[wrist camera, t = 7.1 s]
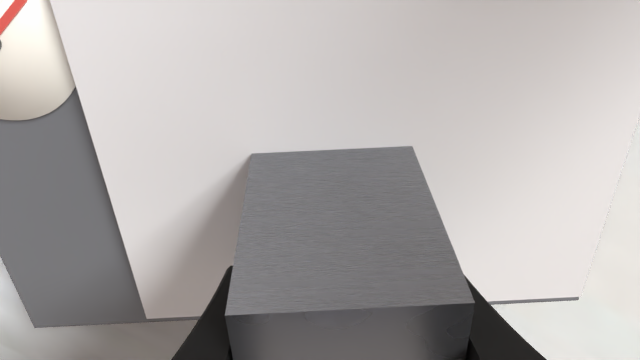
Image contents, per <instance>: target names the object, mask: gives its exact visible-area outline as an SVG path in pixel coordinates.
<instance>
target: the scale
mask: <svg viewBox="0 0 640 360" xmlns="http://www.w3.org/2000/svg"><path fill="white" fill-rule="evenodd" d="M639 118H640V0H0V256H1V258H2V260H3V262H4V264H5V266H6V269H7V271H8V273H9V275H10V277H11V279H12V281H13V283H14V285H15V287H16V290H17V292H18V294H19V296H20V298H21V300H22V302H23V304H24V306H25V309H26V311H27V313H28V315H29V317H30V319H31V321H32V323H33V325H34V327H35V328H41V327H61V326H80V325H100V324H119V323H139V322H159V321H178V320H198V319H200V317H201V315H202V314H203V312H204V311H205V309H206V307H207V306H208V304H209V302H210V300H211V299H212V297H213V295H214V293H215V292H216V290H217V288H218V286H219V284H220V282H221V280H222V278H223V276H224V274H225V272H226V270H227V268H229V267H230V266H233V263H234V257H235V251H236V245H237V238H238V232H239V226H240V220H241V214H242V208H243V202H244V196H245V190H246V184H247V178H248V172H249V165H250V159H251V154H252V153H274V152H295V151H316V150H337V149H358V148H379V147H401V146H412V147H413V149H414V152H415V154H416V157H417V159H418V162H419V164H420V167H421V169H422V172H423V174H424V177H425V179H426V182H427V184H428V187H429V189H430V192H431V194H432V197H433V199H434V202H435V204H436V207H437V209H438V211H439V214H440V216H441V219H442V221H443V224H444V226H445V229H446V231H447V234H448V236H449V239H450V241H451V244H452V246H453V249H454V251H455V254H456V256H457V259H458V261H459V264H460V266H461V269H462V271H463V274H464V275H465V276H466V277H467V279H468V280H469V281H470V282H471V283H472V285H473V286H474V287H475V288H476V289H477V290H478V292H479V293H480V294H481V295H482V296H483V297H484V298H485V300H486V301H487V302H488V303H489V304H490V305H492V304H512V303H531V302H551V301H571V300H578V299H579V297H581V296H582V293H583V290H584V287H585V284H586V281H587V278H588V274H589V271H590V268H591V265H592V262H593V259H594V256H595V253H596V250H597V247H598V244H599V241H600V238H601V234H602V231H603V228H604V225H605V222H606V219H607V216H608V213H609V210H610V207H611V204H612V201H613V198H614V195H615V191H616V188H617V185H618V182H619V179H620V176H621V173H622V170H623V167H624V164H625V161H626V158H627V155H628V152H629V148H630V145H631V142H632V139H633V136H634V133H635V130H636V127H637V124H638V121H639Z"/></svg>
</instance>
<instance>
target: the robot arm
mask: <svg viewBox="0 0 640 360" xmlns="http://www.w3.org/2000/svg"><path fill="white" fill-rule="evenodd" d="M232 269H233V266H230V267H229V268H227V270H226V272H225V274H224V276H223V278H222V280H221V282H220V284H219V286H218V288H217V290H216V292H215V293H214V295H213V297H212V299H211V300H210V302H209V304H208V306H207V307H206V309H205V311H204V312H203V314H202V315H201V317H200V319H199V320H198V322H197V324H196V325H195V327H194V328H193V330H192V331H191V333H190V334H189V336H188V337H187V339H186V340H185V341H184V343H183V344H182V346H181V347H180V349H179V350H178V351H177V353H176V354H175V356H174V357H173V358H172V360H233V356H232V351H231V346H230V340H229V335H228V330H227V325H226V319H225V311H226V305H227V299H228V293H229V287H230V281H231V275H232ZM464 276H465V275H464ZM465 279H466V281H467V284H468V286H469V289H470V291H471V294H472V296H473V299H474V301H475V306H474V312H473V318H472V324H471V329H470V335H469V341H468V346H467V352H466V358H465V360H546V359H545V358H544V357H543V356H542V355H541V354H540V353H538V352H537V351H536V350H535V349H534V348H533V347H532V346H531V345H530V344H529V343H527V342H526V341H525V340H524V339H523V338H522V337H521V336H520V335H519V334H518V333H517V332H516V331H515V330H514V329H513V328H512V327H511V326H510V325H509V324H508V323H507V322H506V321H505V320H504V319H503V318H502V317H501V316H500V315H499V314H498V313H497V311H496V310H495V309H494V308H493V307H492V306H491V305H490V304H489V303H488V302H487V301H486V300H485V298H484V297H483V296H482V295H481V294H480V293H479V292H478V290H477V289H476V288H475V287H474V286H473V285H472V283H471V282H470V281H469V280H468V279H467V277H466V276H465Z"/></svg>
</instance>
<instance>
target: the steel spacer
mask: <svg viewBox="0 0 640 360" xmlns="http://www.w3.org/2000/svg"><path fill="white" fill-rule="evenodd" d="M474 306H475V301H474V299H473V296H472V294H471V291H470V289H469V286H468V284H467V281H466V279H465V276H464V274H463V271H462V269H461V266H460V264H459V261H458V259H457V256H456V254H455V251H454V249H453V246H452V244H451V241H450V239H449V236H448V234H447V231H446V229H445V226H444V224H443V221H442V219H441V216H440V214H439V211H438V209H437V207H436V204H435V202H434V199H433V197H432V194H431V192H430V189H429V187H428V184H427V182H426V179H425V177H424V174H423V172H422V169H421V167H420V164H419V162H418V159H417V157H416V154H415V152H414V149H413V147H412V146H401V147H379V148H358V149H337V150H316V151H295V152H274V153H252V154H251V159H250V165H249V172H248V178H247V184H246V190H245V196H244V202H243V208H242V214H241V220H240V226H239V232H238V238H237V245H236V251H235V257H234V263H233V269H232V275H231V281H230V287H229V293H228V299H227V305H226V311H225V319H226V325H227V330H228V335H229V340H230V346H231V351H232V356H233V360H465V358H466V352H467V346H468V341H469V335H470V329H471V324H472V318H473V312H474Z"/></svg>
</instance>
